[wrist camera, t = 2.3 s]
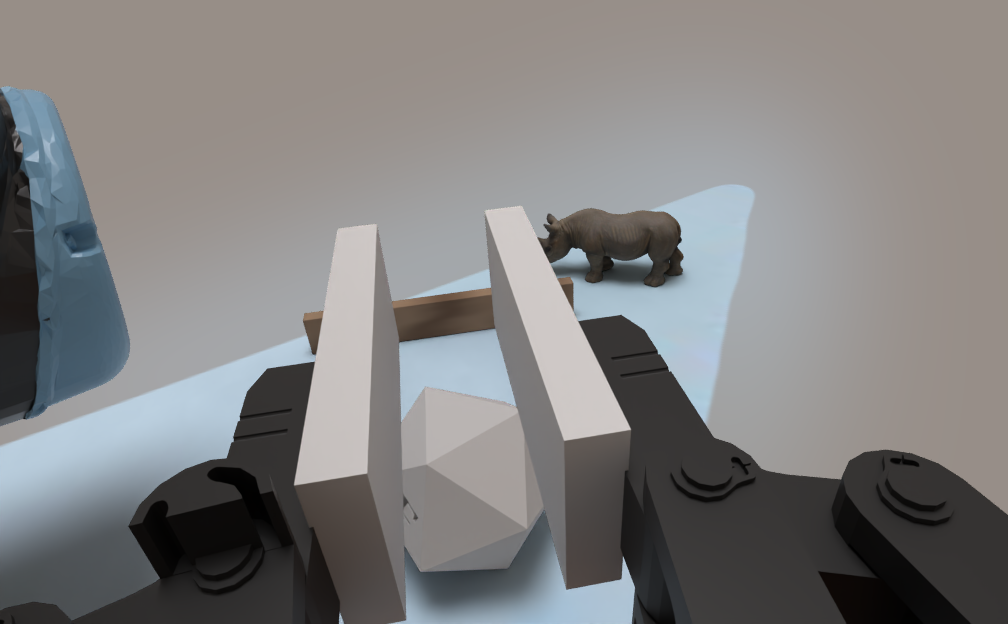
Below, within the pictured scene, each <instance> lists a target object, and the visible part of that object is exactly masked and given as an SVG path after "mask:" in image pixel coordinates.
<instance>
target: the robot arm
mask: <svg viewBox="0 0 1008 624" xmlns="http://www.w3.org/2000/svg"><path fill="white" fill-rule="evenodd" d="M484 213H485V224H486V236H487V246H488V258H489V270H490V281H491V292H492V304H493V315H494V325H495V328H496V332H497V336H498V339H499V343H500V347H501V351H502V354H503V358H504V362H505V365H506V369H507V373H508V376H509V380H510V384H511V387H512V391H513V395H514V398H515V402H516V406H517V409H518V413H519V417H520V420H521V424H522V428H523V431H524V435H525V439H526V443H527V446H528V450H529V454H530V457H531V461H532V465H533V468H534V472H535V476H536V479H537V483H538V487H539V490H540V494H541V498H542V501H543V505H544V509H545V512H546V516H547V520H548V524H549V527H550V531H551V535H552V538H553V542H554V546H555V549H556V553H557V557H558V560H559V564H560V568H561V571H562V575H563V579H564V582H565V586H566V590H568V589H573V588H578V587H583V586H589V585H594V584H599V583H604V582H610V581H615V580H620V579H621V578H622V563H623V557H624V559H625V562H626V565H627V567H628V570H629V573H630V575H631V578H632V581H633V583H634V586H635V594H634V605H633V617H632V624H1008V515H1007V514H1006V513H1004V512H1003V511H1002V510H1000V508H998V507H997V506H996V505H994V504H993V503H992V502H991V501H990V500H988V499H987V498H986V497H985V496H983V495H982V494H981V493H980V492H978V491H977V490H976V489H975V488H973V487H972V486H971V485H970V484H968V483H967V482H966V481H965V480H963V479H962V478H960V477H959V476H957V475H956V474H954V473H953V472H951V471H949V470H948V469H946V468H945V467H943V466H941V465H940V464H938V463H936V462H933V461H930V460H928V459H925V458H922V457H920V456H917V455H914V454H912V453H905V452H898V451H892V450H879V451H871V452H864V453H862V454H861V455H859V456H857V457H856V458H854V459H852V460H850V461H849V463H848V465H847V467H846V469H845V471H844V473H843V476H842V479H841V480H840V479H828V478H818V477H807V476H796V475H786V474H780V473H775V472H769V471H766V470H763V469H761V468H760V467H759V466H758V464H757V463H756V462H755V461H754V460H753V458H752V457H751V456H750V455H748V454H747V453H745V452H744V451H742V450H740V449H739V448H737V447H736V446H734V445H733V444H731V443H728V442H725V441H722V440H719V439H716V438H714V437H713V436H712V434H711V433H710V431H709V429H708V428H707V426H706V425H705V423H704V422H703V420H702V419H701V417H700V416H699V414H698V412H697V411H696V409H695V408H694V406H693V405H692V403H691V402H690V400H689V398H688V397H687V395H686V394H685V392H684V391H683V389H682V388H681V386H680V385H679V383H678V381H677V380H676V378H675V377H674V375H673V374H672V372H669V370H668V366H667V364H666V363H665V361H664V360H663V358H662V357H661V355H660V354H659V355H658V352H657V349H656V347H655V346H654V344H653V343H652V341H651V340H650V338H649V337H648V335H647V333H646V332H645V330H643V329H642V328H640V327H639V326H637V325H636V324H634V323H633V322H631V321H630V320H628V319H627V318H625V317H624V316H622V315H618V316H611V317H604V318H597V319H590V320H583V321H578V320H577V318H576V316H575V314H574V312H573V310H572V308H571V306H570V304H569V302H568V300H567V298H566V296H565V294H564V292H563V289H562V287H561V285H560V283H559V281H558V279H557V277H556V275H555V273H554V271H553V269H552V267H551V265H550V263H549V261H548V259H547V257H546V255H545V253H544V251H543V249H542V247H541V245H540V242H539V240H538V238H537V236H536V234H535V232H534V230H533V228H532V226H531V224H530V222H529V220H528V218H527V216H526V214H525V212H524V210H523V208H522V206H516V207H509V208H500V209H492V210H485V211H484ZM129 352H130V340H129V335H128V330H127V326H126V323H125V318H124V315H123V311H122V308H121V304H120V301H119V298H118V294H117V291H116V288H115V284H114V281H113V278H112V274H111V271H110V268H109V265H108V262H107V259H106V256H105V253H104V250H103V247H102V244H101V241H100V240H99V238H98V234H97V227H96V225H95V222H94V219H93V216H92V213H91V210H90V206H89V201H88V198H87V195H86V192H85V189H84V186H83V182H82V179H81V176H80V173H79V170H78V167H77V164H76V161H75V158H74V156H73V152H72V149H71V147H70V144H69V141H68V138H67V135H66V132H65V129H64V126H63V123H62V121H61V118H60V116H59V113H58V110H57V108H56V106H55V104H54V102H53V101H52V99H51V98H50V97H48V96H47V95H46V94H44V93H42V92H39V91H35V90H19V89H17V88H12V87H10V86H8V87H3V88H0V426H3V425H6V424H8V423H12V422H15V421H18V420H20V419H26V420H27V419H30V418H34V417H37V416H39V415H40V414H42V413H43V412H44V411H45V410H46V409H47V407H48V406H51V405H53V404H56V403H58V402H60V401H63V400H66V399H68V398H71V397H73V396H76V395H78V394H80V393H83V392H86V391H88V390H91V389H93V388H96V387H98V386H101V385H103V384H105V383H107V382H108V381H110V380H111V379H113V378H114V377H115V376H116V375H117V374H118V373H119V372H120V371H121V370H122V369H123V367H124V365H125V363H126V361H127V359H128V357H129ZM233 438H234V442H232V443H231V446H230V449H229V453H228V456H227V458H226V459H216V460H210V461H207V462H204V463H201V464H198V465H195V466H193V467H190V468H187V469H184V470H183V471H181V472H180V473H178V474H176V475H175V476H173V477H172V478H170V479H168V480H167V481H165V482H163V483H162V484H160V485H159V486H158V487H157V488H156V489H155V490H154V491H153V492H152V493H151V494H150V495H149V496H148V497H147V498H146V499H145V500H144V501H143V502H142V503H141V504H140V505H139V507H138V509H137V511H136V513H135V515H134V517H133V518H132V520H131V522H130V524H129V526H128V527H129V528H130V530H131V531H132V533H133V535H134V536H135V538H136V540H137V541H138V543H139V545H140V546H141V548H142V550H143V551H144V553H145V554H146V556H147V558H148V559H149V561H150V563H151V564H152V566H153V568H154V569H155V571H156V572H157V574H158V576H159V577H160V579H159V580H157V581H156V582H155V583H153V584H151V585H149V586H147V587H145V588H143V589H141V590H140V591H138V592H136V593H134V594H132V595H130V596H127V597H125V598H123V599H120V600H118V601H116V602H114V603H111V604H109V605H107V606H105V607H102V608H100V609H98V610H96V611H93V612H91V613H89V614H86V615H84V616H82V617H80V618H77V619H75V620H73V621H71V620H70V618H69V617H68V616H67V615H66V614H65V613H64V612H63V611H61V610H60V609H59V608H58V607H57V606H56V605H53V604H46V603H39V602H30V603H26V604H22V605H17V606H13V607H8V608H5V609H3V610H0V624H339V612H340V613H341V616H342V619H343V622H344V624H389V623H395V622H400V621H405V620H406V592H405V554H404V516H403V478H402V440H401V402H400V364H399V336H398V331H397V326H396V321H395V315H394V310H393V305H392V300H391V295H390V289H389V284H388V279H387V274H386V269H385V264H384V258H383V253H382V248H381V243H380V238H379V233H378V227H377V224H372V225H364V226H356V227H348V228H340V229H338V230H337V236H336V242H335V248H334V254H333V260H332V265H331V271H330V278H329V283H328V289H327V295H326V301H325V306H324V312H323V318H322V324H321V330H320V336H319V342H318V347H317V353H316V359H315V362H310V363H303V364H296V365H289V366H282V367H276V368H269V369H267V370H266V371H265V372H264V373H263V374H262V375H261V376H260V378H259V379H258V380H257V381H256V382H255V383H254V384H253V386H252V387H251V388H250V389H249V390H248V391H247V394H246V397H245V400H244V404H243V407H242V410H241V413H240V421H238V423H237V426H236V430H235V433H234V436H233Z"/></svg>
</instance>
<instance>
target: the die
mask: <svg viewBox="0 0 1008 624" xmlns="http://www.w3.org/2000/svg"><path fill="white" fill-rule="evenodd" d="M401 440H402V478H403V516H404V545H405V547H406V549H407V550H408V552H409V554H410V555H411V557H412V559H413V560H414V562H415V564H416V565H417V567H418V569H419V570H420V572H433V571H459V570H485V569H508V568H509V566H510V565H511V563H512V561H513V560H514V558H515V556H516V555H517V553H518V551H519V550H520V548H521V547H522V545H523V543H524V542H525V540H526V538H527V537H528V535H529V533H530V532H531V530H532V528H533V527H534V525H535V524H536V522H537V520H538V519H539V517H540V515H541V514H542V512H543V510H544V505H543V501H542V498H541V494H540V490H539V487H538V483H537V479H536V476H535V472H534V468H533V465H532V461H531V457H530V454H529V450H528V446H527V443H526V439H525V435H524V431H523V428H522V424H521V420H520V417H519V413H518V409H517V407H515V406H513V405H510V404H508V403H506V402H503V401H498V400H492V399H487V398H482V397H477V396H471V395H466V394H461V393H456V392H450V391H445V390H440V389H435V388H429V387H425V388H424V389H423V391H422V392H421V394H420V395H419V397H418V398H417V400H416V401H415V403H414V404H413V406H412V407H411V409H410V410H409V412H408V413H407V415H406V416H405V418H404V419H403V421H402V422H401Z"/></svg>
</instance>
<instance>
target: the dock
mask: <svg viewBox="0 0 1008 624" xmlns="http://www.w3.org/2000/svg"><path fill="white" fill-rule="evenodd" d="M558 281H559V283H560V285H561V287H562V289H563V292H564V294H565V296H566V298H567V300H568V302H569V304H570V306H571V308H572V310H573V282H572V280H571V278H570V277H566V278H559V279H558ZM392 305H393V310H394V315H395V321H396V326H397V331H398V336H399V342H401V341H408V340H415V339H422V338H429V337H436V336H442V335H449V334H456V333H463V332H470V331H477V330H484V329H491V328H495V325H494V315H493V304H492V292H491V288H486V289H479V290H472V291H464V292H457V293H450V294H443V295H435V296H428V297H421V298H413V299H406V300H399V301H392ZM323 312H324V311H319V312H312V313H305V314H304V319H303V323H304V326H305V329H306V333H307V336H308V340H309V343H310V347H311V350H312V353H313V354H316V353H317V347H318V342H319V336H320V330H321V324H322V318H323Z"/></svg>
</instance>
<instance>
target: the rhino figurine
mask: <svg viewBox="0 0 1008 624" xmlns="http://www.w3.org/2000/svg"><path fill="white" fill-rule="evenodd" d="M547 221H548V223H549V224H550V225H546V224H544V226H545V228H546V229H547V231H548V232H549V233H550V234H549V237H548V238H547V239H542V238H538V237H537V238H538V240H539V242H540V245H541V247H542V249H543V251H544V253H545V255H546V257H547V259H548V261H549V263H553V262H555V261H557V260H560V259H562V258H563V257H565V256H566V255H567V254H568V252H569V251H570V249H571V248H572V247H573V248H575V249H577V248H580V249H582V250H583V252H585V253H586V257H587V259H588V261H589V263H590V266H591V270H590V272H589V273H588V274H587V276H586V278H585V280H586V281H587V282H591V283H595V282H598V281H600V280H602V278H603V274H602V271H604V270H607V269H610V268H611V267H612V266H613V265H614V262H613V261H612V260H611V258H613V259H617V260H622V261H629V260H634V259H637V258H639V257H641V256H643V255H645V254H647V253H648V255H649V257H650V259H651V260H652V261H653V267H652V270H651V273H650V274H649V275H648V276H647V277H646V278H645V279H644V283H645V284H646V285H651V286H654V287H655V286H658V285H661V284H663V283H664V282H665V278H664V276H663V274H664V272H665V273H666V274H667V275H678V274H681V273H682V272H683V269H682V268H681V266H680V262H681V261H682V260H683V254H682V253H681V251H680V250H679V249H678V247H677V246H678V244H679V243H680V242H681V241H682V239H681V237H680V235H681V228H680V225H679V223H678V222H677V220H676V219H675V218H673V217H672V216H671V215H669V214H668V213H666V212H652V211H636V212H632V213H628V214H610V213H607V212H605V211H602V210H598V209H592V208H590V209H584V210H581V211H578V212H576V213H574V214H572V215H570V216H568V217H566V218H564V219H561V220H560V221H558V220H556V218H555V217H554V216H552V215H551V214H548V215H547ZM669 261H670V263H669Z"/></svg>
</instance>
